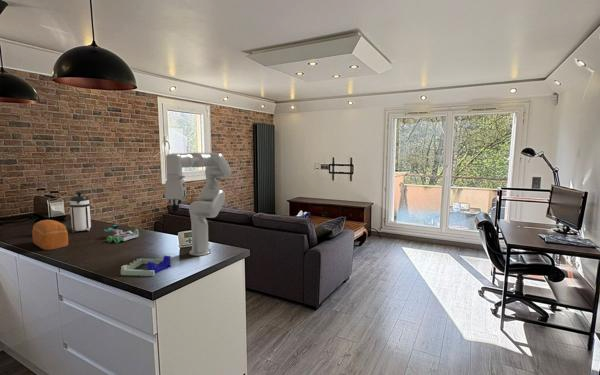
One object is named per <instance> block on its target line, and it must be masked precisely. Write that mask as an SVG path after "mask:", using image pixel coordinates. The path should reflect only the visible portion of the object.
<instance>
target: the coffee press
mask: <svg viewBox="0 0 600 375" xmlns="http://www.w3.org/2000/svg"><path fill="white" fill-rule="evenodd" d="M68 200H69V207H70V221H71V229H72V230H71V233H72V234H75V233H77V232H79V231H86V232H87V233H90V231H91V230H92V222H91V221H92V220H91V209H90V208H91V207H90V206H91V203H90V197H89V196H88V195H85V194H82V193H81V191H78V192H77V195H73V196H70V198H69V199H68Z"/></svg>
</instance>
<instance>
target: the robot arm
mask: <svg viewBox="0 0 600 375" xmlns="http://www.w3.org/2000/svg"><path fill="white" fill-rule="evenodd" d="M165 160H166V161H165V164H166V166H165V167H166V168H165V169H166V180H165V184H164V201H165V202H168V203H169V204H170V205H171V209H172V213H174V214H175V213H178V212H179V211H180V204H181V203H182V202H186V201H187V199H186V198H187V187H186V183H185V180H184V179H185V178H186V176H185V175H183V168H204V167H205V169H204V170H205V172H204V174H205V180H206V181H205V184H204V186H203V188H202V190H201V191H200V193H199V196H198V200H196V201H192V202H191V203H190V204H189V207H188V212H189V216H190V222H191V226H190V227H191V250H190V251H189V255H190V256H196V257H197V256H206V255H209V254H211V253H212V249H211V248H209V246H210V243H209V224H208V223H209V222H208V220H207V219H208V218H209V219H212V218H213V219H214V218H216V217H217V216H218V215H219V213H220V211H221V209H222V208H223V205H224V203H225V201H226V193H225V191H224V190H223V189H220V185H219V182H218V181H217V179H228V178H230V177H231V175H232V169H231V166H230V164H229V162H228V161H227V159H226V158H225V156H224V155H223V154H222V153H220V152H189V153H182V152H181V153H179V152H178V153H174V152H173V153H169V154H166V156H165Z"/></svg>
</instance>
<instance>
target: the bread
mask: <svg viewBox="0 0 600 375" xmlns="http://www.w3.org/2000/svg"><path fill="white" fill-rule="evenodd" d="M31 234H32V243H33V244H34V245H36V246H37V247H39V248H40V249H42V250H45V251H49V250H56V249H61V248H65V247H67V246H68V245H69V232H68V230H67V226H65V224H63V223H62V222H60V221H58V220H53V219H42V220H40V221H36V222H35V223H34V224H33V226H32V231H31Z"/></svg>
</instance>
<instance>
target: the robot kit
mask: <svg viewBox="0 0 600 375" xmlns="http://www.w3.org/2000/svg"><path fill="white" fill-rule="evenodd" d="M118 228H119V225H118V224H114V225H112V227H107V229H105V228H104V229H103V231H104V232H106V233H108V232H113V233H115V234H113V235H108V236H107V237H106V241H107V242H108V243H113V242H114V243H115V244H119V243H121V241H122V242H126V241H128V240H131V239H134V238H138V237H140V233H139V229H138V228H136V229H134V230H133V232H132V230H127V231H123V229H118Z"/></svg>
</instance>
